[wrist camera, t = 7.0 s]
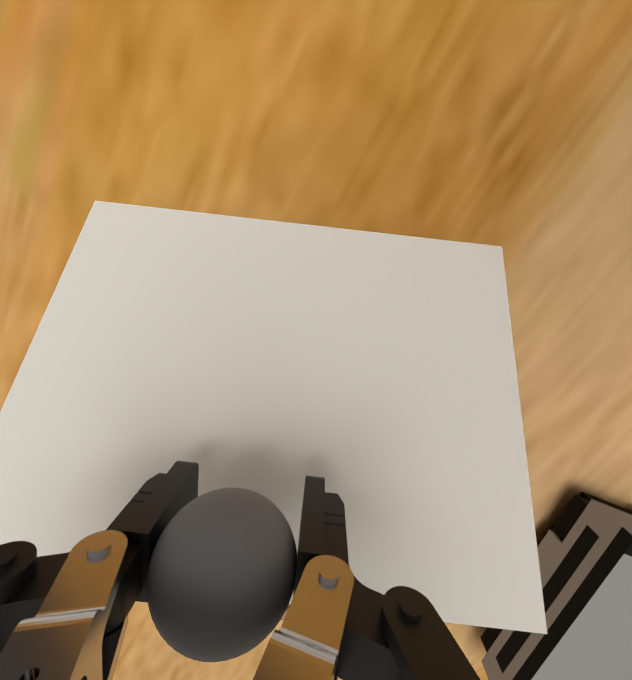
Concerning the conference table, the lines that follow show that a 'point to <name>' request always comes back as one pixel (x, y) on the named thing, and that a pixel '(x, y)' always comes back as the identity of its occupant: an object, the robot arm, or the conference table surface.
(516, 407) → the flap
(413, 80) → the conference table surface
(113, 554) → the robot arm
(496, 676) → the game console
